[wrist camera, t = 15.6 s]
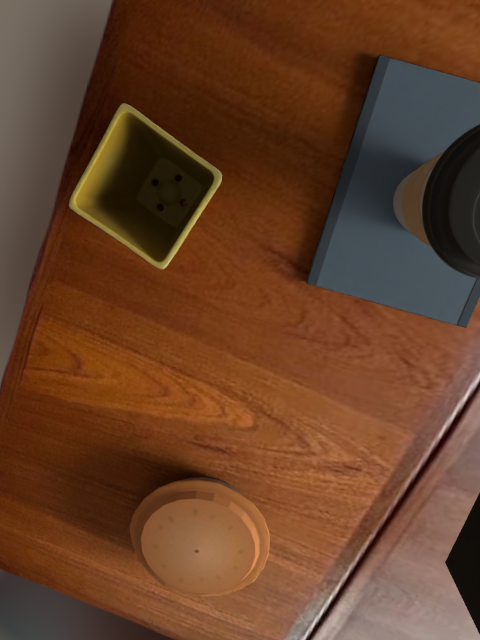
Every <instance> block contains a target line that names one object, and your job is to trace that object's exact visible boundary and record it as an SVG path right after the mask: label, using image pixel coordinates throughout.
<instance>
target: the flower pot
mask: <svg viewBox="0 0 480 640" xmlns="http://www.w3.org/2000/svg"><path fill="white" fill-rule="evenodd" d="M177 175H180V176H181V178H182V179H181V180H180V181H177V180H176V176H177ZM153 180H157V181H158V185H156V186H154V185H153V184H152V181H153ZM221 180H222V174H221V172H220V171H219V170H218V169H217V168H215V167H214V166H213V165H211V164H210V163H208V162H207V161H205V160H204V159H202V158H201V157H200V156H198V155H197V154H195V153H194V152H193V151H191V150H190V149H189V148H187V147H186V146H184V145H183V144H182V143H180V142H179V141H178V140H176V139H175V138H174V137H172V136H171V135H169V134H168V133H167V132H165V131H164V130H163V129H161V128H160V127H158V126H157V125H156V124H154V123H153V122H152V121H151V120H149V119H148V118H147V117H145V116H144V115H143V114H141V113H140V112H139V111H137V110H136V109H134V108H133V107H131V106H130V105H128V104H121V105H120V107H119V108H118V110H117V111H116V113H115V115H114V117H113V119H112V121H111V122H110V124H109V127H108V128H107V130H106V133H105V134H104V136H103V138H102V140H101V142H100V144H99V146H98V148H97V149H96V151H95V153H94V155H93V157H92V159H91V161H90V162H89V164H88V166H87V168H86V170H85V172H84V173H83V175H82V177H81V179H80V180H79V182H78V184H77V186H76V188H75V189H74V191H73V193H72V195H71V198H70V201H69V207H70V208H71V209H72V210H73V211H75V212H76V213H78V214H79V215H81V216H82V217H84V218H85V219H87V220H88V221H90V222H92V223H93V224H95V225H96V226H98V227H99V228H101V229H102V230H104V231H105V232H107V233H108V234H110V235H111V236H113V237H114V238H116V239H117V240H119V241H120V242H121V243H123V244H124V245H126V246H127V247H128V248H130V249H131V250H132V251H134V252H135V253H137V254H138V255H140V256H141V257H142V258H144V259H145V260H146V261H148V262H149V263H150V264H152V265H153V266H155V267H157V268H159V269H164V268H166V266H167V265H168V264H169V262H170V261H171V259H172V258H173V257H174V255H175V254H176V253H177V251H178V249H179V248H180V246H181V245H182V243H183V241H184V240H185V238H186V236H187V235H188V233H189V232H190V230H191V229H192V227H193V225H194V224H195V222H196V221H197V219H198V218H199V216H200V215H201V213H202V211H203V210H204V208H205V207H206V205H207V204H208V202H209V201H210V199H211V198H212V196H213V195H214V193H215V192H216V190H217V189H218V187H219V186H220V183H221ZM182 200H185V201H186V202H187V204H186V205H185V206H182V205H181V201H182ZM159 204H162V205H163V210H159V209H158V205H159Z"/></svg>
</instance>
